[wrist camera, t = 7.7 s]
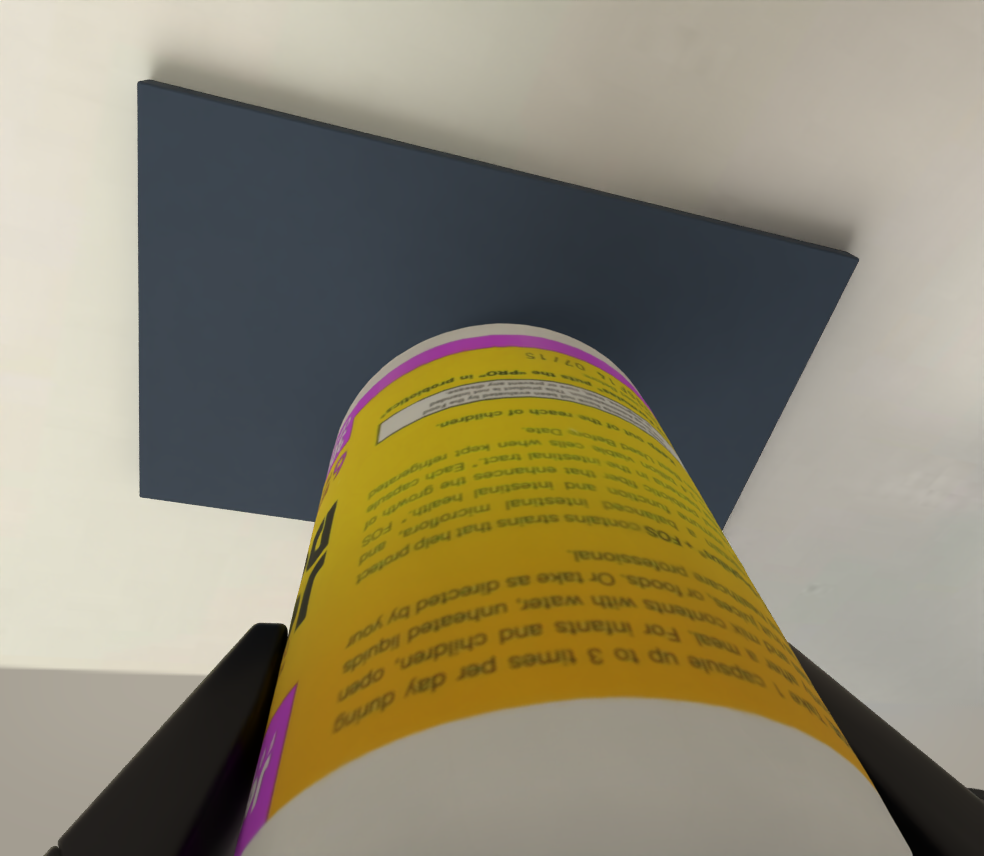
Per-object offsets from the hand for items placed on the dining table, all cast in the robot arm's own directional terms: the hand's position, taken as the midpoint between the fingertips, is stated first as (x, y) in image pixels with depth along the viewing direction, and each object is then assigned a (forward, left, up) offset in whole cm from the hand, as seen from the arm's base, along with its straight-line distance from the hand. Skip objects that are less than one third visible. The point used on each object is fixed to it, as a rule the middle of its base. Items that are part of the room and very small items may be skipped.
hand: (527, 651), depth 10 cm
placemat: (0, 0, -9) cm, 9 cm away
